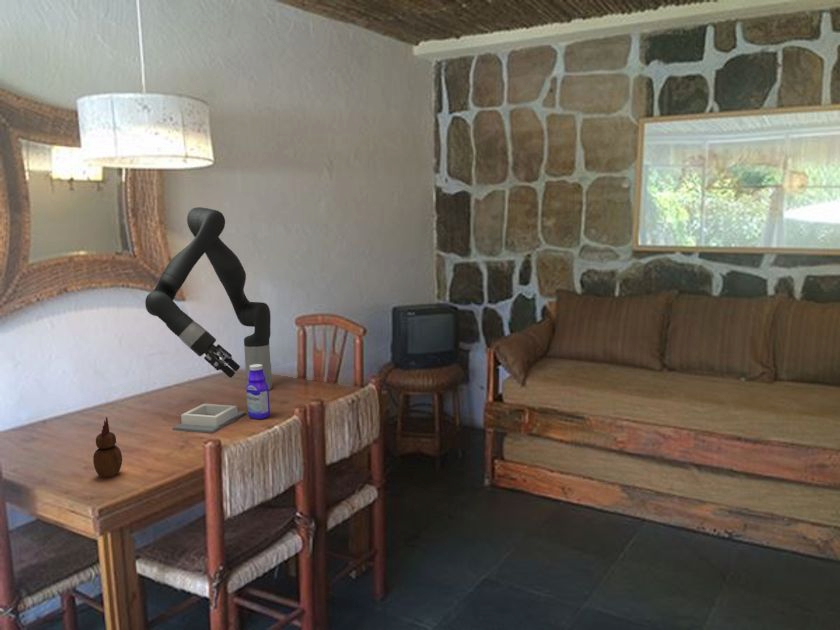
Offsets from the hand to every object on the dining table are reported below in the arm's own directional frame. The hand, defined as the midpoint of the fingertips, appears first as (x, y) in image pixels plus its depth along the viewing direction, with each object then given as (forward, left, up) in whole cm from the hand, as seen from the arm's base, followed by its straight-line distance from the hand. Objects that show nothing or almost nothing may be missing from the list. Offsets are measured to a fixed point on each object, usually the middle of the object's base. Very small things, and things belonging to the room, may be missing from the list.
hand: (235, 372), depth 218 cm
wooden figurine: (+51, -8, -15) cm, 54 cm away
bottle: (-2, +6, -15) cm, 17 cm away
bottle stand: (+6, -7, -15) cm, 18 cm away
